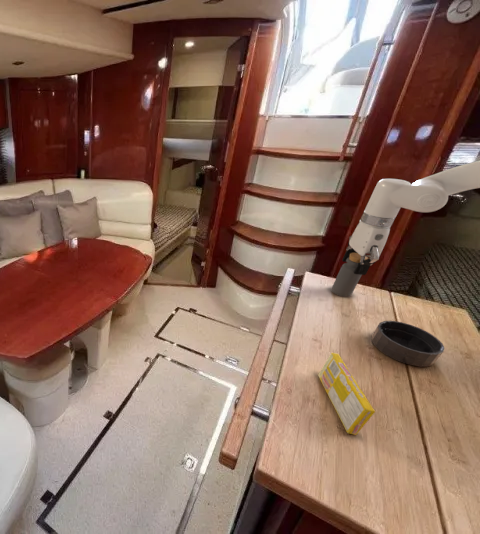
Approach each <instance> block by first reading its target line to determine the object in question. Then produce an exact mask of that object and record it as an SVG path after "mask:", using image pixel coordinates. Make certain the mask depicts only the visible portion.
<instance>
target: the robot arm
mask: <svg viewBox="0 0 480 534" xmlns="http://www.w3.org/2000/svg"><path fill="white" fill-rule="evenodd" d="M475 189H480V160H476V161H472V162H467V163H465V164H462V165H461V164H460V165H458V166H455V167H451V168H449V169H446V170H445V169H444V170H443V171H440V172H437V173H434V174H430V175H429V176H425V177H423V178H421V179H418V180H416V181H415V182H412V183H411V182H410V181H407V180H404V179H398V178H382V179H380V180H379V181H377V183H376V186H375V187H374V189H373V191H372V194H371V195H370V198H369V199H368V202H367V204H366V206H365V209H364V210H363V213H362V215H361V216H360V219H359V222H358V224H357V225H356V228H355V229H354V231H353V233H352V235H350V236H349V237H348V243H347V247H346V251H345V253H344V255H343V257H342V260H341V261H342V262H343V263H347V262H346V260H347V258H349V257H350V253H358V254H359V255H361V260H360V263H358V264H357V266H356V268H355V270H354V274H359V275H362V276H366V275H367V273H368V272H369V269H370V267H371V266H372V265H374V264H375V263H376V262H377V261H379V259H380V256H381V254H382V252H383V249H384V248H385V245H386V243H387V241H388V237H389V235H390V231H391V227H392V226H393V224H394V221H395V219H397V218H396V217H397V215H398V214H399V212H400V210H401V208H402V209H406V210H409V211H413V212H418V213H433V212H436V211H438V210H441V209H442V208H444V207H445V205H447V203H448V201H449V196H452V195H454V194H455V195H456V194H459V193H462V192H466V191H470V190H475ZM365 257H368V259H367V260H365Z"/></svg>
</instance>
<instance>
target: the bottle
mask: <svg viewBox="0 0 480 534" xmlns="http://www.w3.org/2000/svg"><path fill="white" fill-rule="evenodd" d="M367 259H369V257H365V260H367ZM360 260H361V255H359V254H358V253H350V257H349V258H347V260H346V262H344V263H343V264H342V265H341V266H340V269H339V271H338V273H337V276H336V278H335V280H334V282H333V284H332V286H331V289H330V291H331V293H333V294H335V295H336V296H339V297H343V298H349V297H351V296H352V295H353V293H354V291H355V289H356V288H357V285H358V284H359V281H360V279H361V277H362V276H363V275H359V274H354V270H355V268H356V266H357V264H358V263H360Z"/></svg>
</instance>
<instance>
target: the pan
mask: <svg viewBox="0 0 480 534" xmlns="http://www.w3.org/2000/svg"><path fill="white" fill-rule="evenodd" d="M370 340H371V343H372V344H373V346H374V347H375V348H377V349H378V351H380V352H381V353H383V354H384V355H385V356H387V357H389V358H391V359H392V360H395V361H398V362H400V363H403V364H407V365H410V366H414V367H415V366H416V367H430V366H432V365H435V363H436V362H437V361H438V359H439V358H440V357H441V356H442V354H443V353H444V351H445V346H444V344H443V343H442V341H441V340H439V339H438V337H437V336H435V335H434V334H432V333H430V332H428V331H427V330H424V329H422V328H420V327H418V326H415V325H412V324H409V323H405V322H402V321H398V320H397V321H396V320H384V321H383V320H382V321H381V322H379V323H378V325H377V326H376V328H375V329H374V331H373V333H372V334H371V336H370Z"/></svg>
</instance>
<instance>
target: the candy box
mask: <svg viewBox="0 0 480 534" xmlns="http://www.w3.org/2000/svg"><path fill="white" fill-rule="evenodd" d="M317 376H318V378H319V380H320V382H321V384H322V386H323V388H324V390H325V393H326V394H327V396H328V398H329V400H330V402H331V404H332V406H333V408H334V410H335V412H336V414H337V416H338V418H339V420H340V422H341V423H342V426H343V427H344V430H345V431H346V434H348V435H349V434H350V435H353V436H357V435H358V433H359V432H360V431H361V430H362V429H363V428H364V426H365V425H366V424H367V422H368V421H369V420H370V419H371V417H372V416H373V415H374V414H375V413H376V411H375V409H374V408H373V406H372V404H371V403H370V401H369V400H368V398H367V397H366V395H365V393H364V391H363V390H362V389H361V387H360V386H359V384H358V382H357V381H356V379H355V378H354V376H353V374H352V373H351V371H350V369H349V367H348V366H347V365H346V364H345V362H344V360H343V358H342V357H341V356H340V354H339V353H337V352H330V354H329V356H328V358H327V359H326V361H325V363H324V364H323V366H322V368H321V369H320V371H319V373H318V374H317Z"/></svg>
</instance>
